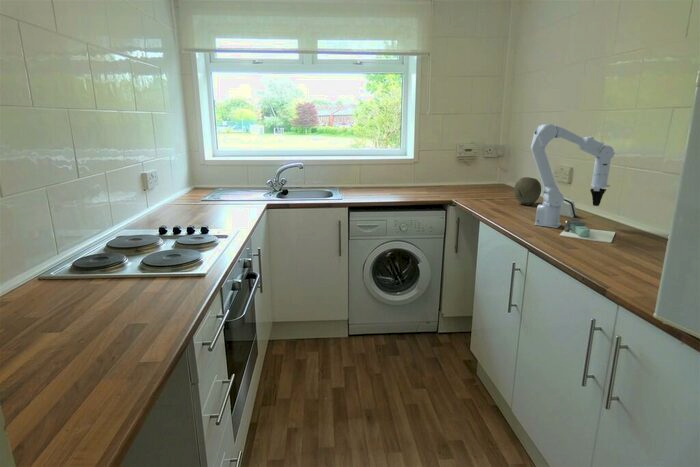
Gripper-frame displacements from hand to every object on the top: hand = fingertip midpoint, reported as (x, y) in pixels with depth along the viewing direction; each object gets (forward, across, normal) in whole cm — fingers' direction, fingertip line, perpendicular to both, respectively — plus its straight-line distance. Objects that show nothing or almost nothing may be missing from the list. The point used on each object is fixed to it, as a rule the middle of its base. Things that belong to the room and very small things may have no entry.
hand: (595, 205), depth 183 cm
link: (+9, -16, +3) cm, 18 cm away
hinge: (+10, +20, +18) cm, 28 cm away
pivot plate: (+9, -16, 0) cm, 19 cm away
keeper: (+9, -16, +5) cm, 19 cm away
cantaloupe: (+10, +37, +37) cm, 53 cm away
